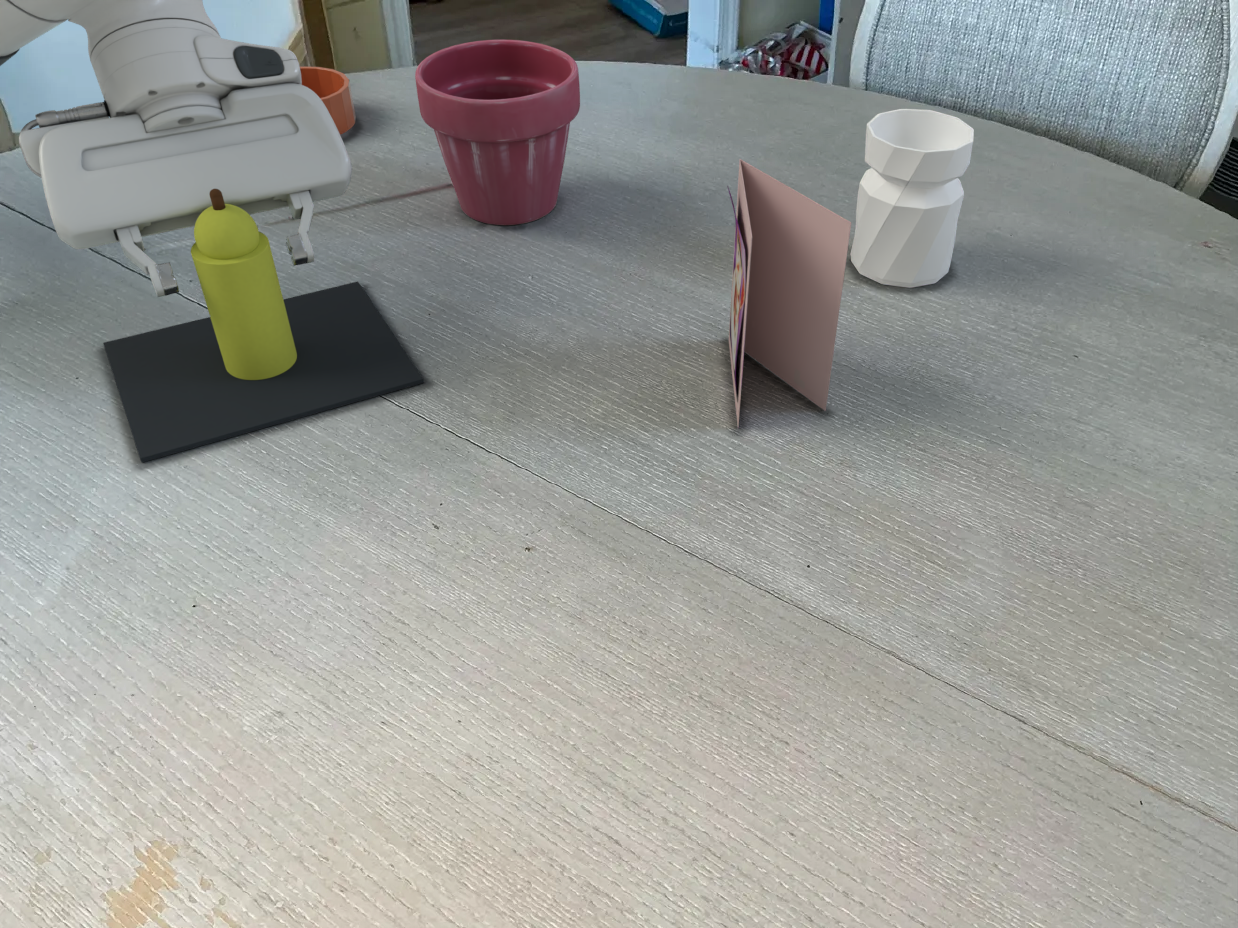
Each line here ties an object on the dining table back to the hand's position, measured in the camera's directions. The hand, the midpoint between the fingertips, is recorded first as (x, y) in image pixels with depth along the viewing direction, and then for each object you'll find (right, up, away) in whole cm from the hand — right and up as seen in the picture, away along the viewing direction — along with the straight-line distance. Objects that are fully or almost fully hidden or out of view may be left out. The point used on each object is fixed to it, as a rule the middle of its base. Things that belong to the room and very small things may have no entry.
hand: (237, 277), depth 78 cm
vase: (+51, +5, +19) cm, 54 cm away
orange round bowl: (-8, +24, +38) cm, 46 cm away
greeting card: (+38, -7, +5) cm, 39 cm away
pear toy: (0, -5, +5) cm, 7 cm away
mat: (0, -5, +6) cm, 8 cm away
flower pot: (+15, +12, +26) cm, 33 cm away
